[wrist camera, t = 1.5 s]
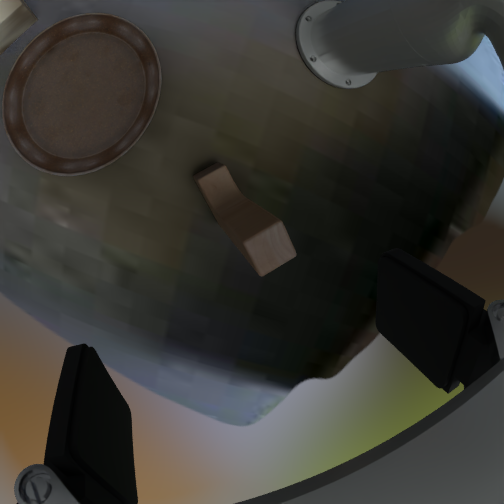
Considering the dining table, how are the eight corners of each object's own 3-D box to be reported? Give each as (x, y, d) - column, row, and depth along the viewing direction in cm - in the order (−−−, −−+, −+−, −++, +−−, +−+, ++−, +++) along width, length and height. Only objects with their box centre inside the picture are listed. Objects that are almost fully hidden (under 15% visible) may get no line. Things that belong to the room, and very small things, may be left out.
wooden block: (243, 210, 38) (298, 256, 24) (218, 224, 37) (261, 278, 24) (218, 161, 35) (263, 179, 21) (192, 175, 34) (220, 202, 21)
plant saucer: (14, 40, 22) (5, 33, 19) (161, 12, 27) (162, 2, 24) (17, 185, 28) (7, 189, 26) (164, 160, 33) (165, 163, 30)
